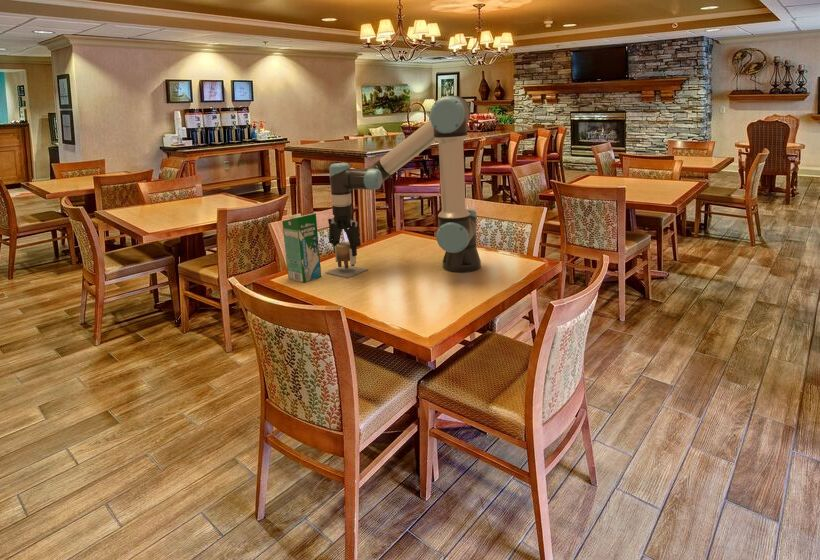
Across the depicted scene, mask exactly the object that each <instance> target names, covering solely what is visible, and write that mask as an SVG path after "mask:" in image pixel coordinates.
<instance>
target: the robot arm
mask: <svg viewBox="0 0 820 560" xmlns="http://www.w3.org/2000/svg"><path fill="white" fill-rule="evenodd" d="M470 118H471V107H470V104H469V103H468V101H467V100H466V99H465V98H463V97H462V96H459V95H446V96H445V95H444V96H442V97H440V98H438V99H437V100H436V101H434V103H433V105H431V108H430V111H429V120H427V122H425V123H424V124H423V125H422V126H420V127H419V128H418V129H416V130H415V131H414V132H413V133H411V134H410V135H409V136H407V137H406V138H405V139H403V140H402V141H401V142H400V143H399V144H397V145H396V146H395V147H393V148H392V149H390V151H388V152H387V153H385V154H384V155H383V156H382V157H380V158H379V159H378V160H377V161H375V162H374V163H373V164H371V165H369V166H367V167H364V168H351V167H350V164H349V163H348V162H347V163H346V162H337V163H331V164H330V166H329V184H330V194H331V195H330V196H331V205H332V206H331V209H332V210H331V211H332V212H331V213H332V215H333V217H331V218H328V220H327V222H328V243H329V244H332V246H333V252H334V254H335V262H336V263H338V260H337V255H336V245H337V244H338V243H340V240H341V235H342V231H344V233H345V235H346V238H347V240H348V242H349V243H350V246H351V248H349V252H350V261H349V263H350V264H349V266H351V265H353V264H357V255H358V250H357V249H358V248H359V247H361V246H362V245H361V238H360V231H359V221H358V220H353V217H352V215H353V205H352V190H366V191H367V190H369V191H373V190H379V189H380V188H381V187H382V185H383V183H384V182H385V181H386V180H387V179H389V178H390V177H391V176H392V175H393V174H394V173H396V172H397V171H398V170H399V169H402V167H404V166H405V165H406V164H407V163H409V162H410V161H412V160H413V159H414V158H416V157H417V156H418V155H420V154H421V153H422V152H423V151H424V150H426V149H427V148H429V147H431V145H433V144H434V143H435V142H437V143H438V159H439V176H440V177H439V179H440V197H441V199H440V200H441V211H440V212H439V213H438V215H437V219H438V220H437V222H438V228H437V230H436V237H435V238H436V242H437V245H438V246H439V247H440V248H441V249H442V250H444V251H445V252H444V256H443V260H442V268H443V269H444V270H446V271H448V272H456V273H466V272H467V273H468V272H474V271H477V270H479V269H481V268H482V267H481V266H482V261H481V258H480V255H479V252H478V251H479V250H478V248H477V219H478V217H477V211H476V210H475V209H472V208H471V209H470V208H468V209H467V208H466V181H465V159H464V158H465V155H464V140H465V139H466V138H467V137H468V122H469V120H470ZM353 244H354V245H353Z"/></svg>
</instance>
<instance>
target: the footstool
mask: <svg viewBox="0 0 820 560" xmlns="http://www.w3.org/2000/svg"><path fill="white" fill-rule="evenodd" d="M353 245H354V244H353ZM349 248H351V246H350V243H349V241H348V242H347V241H345V242H339V243H338V244H337V245H336V255H337V260H338V262H337V268H338V267H342V266H344V265H345V268H346V269H347V268H348V265H349V262H350V252H349ZM342 262H343V265H342ZM350 266H354V267H356V266H355V264H353V265H350Z"/></svg>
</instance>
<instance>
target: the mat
mask: <svg viewBox="0 0 820 560" xmlns="http://www.w3.org/2000/svg"><path fill="white" fill-rule="evenodd" d="M368 270H369V268H364V267H359V266H351V265H350V264H348V268H347V269H346V268H345V265H344V264H343V265H342V267H338V266H337V267H335V268H334V269H331V270H328V271H325V272H324V274H325V273H326V275H330V274H331V275H332V276H335V277H340V278H344V277H345V278H346V279H349V277H350V278H351V277H355V276H357V275H360V274H362V273H364V271H365V272H366V271H367V272H368ZM359 273H360V274H359ZM345 278H344V279H345Z"/></svg>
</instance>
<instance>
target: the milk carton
mask: <svg viewBox="0 0 820 560" xmlns="http://www.w3.org/2000/svg"><path fill="white" fill-rule="evenodd" d="M281 222H282V231H283V240H284V249H285V251H284V252H285V260H286V269H287V277H288V278H289V279H288V280H291V279H292V281H295V282H299V283H307V282H310V281H313V280H315V279H319V278H321V277H322V268H321V257H320V245H319V236H318V235H319V233H318V223H317V213H311V214H307V215H302V214H301V213H297V214H291V215H290V218H289V219H285V220H282V221H281Z"/></svg>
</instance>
